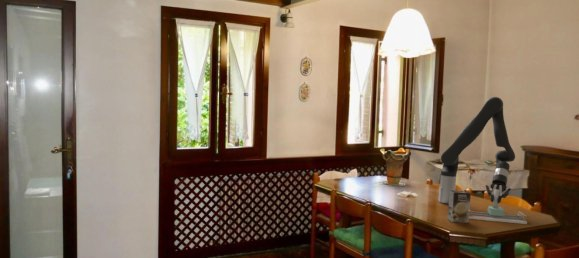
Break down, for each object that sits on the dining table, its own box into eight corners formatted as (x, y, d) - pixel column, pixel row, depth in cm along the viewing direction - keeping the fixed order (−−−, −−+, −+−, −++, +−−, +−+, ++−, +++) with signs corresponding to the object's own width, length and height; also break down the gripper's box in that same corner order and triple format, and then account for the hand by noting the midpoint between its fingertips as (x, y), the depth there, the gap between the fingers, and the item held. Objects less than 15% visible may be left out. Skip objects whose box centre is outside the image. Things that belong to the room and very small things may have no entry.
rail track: (468, 218, 245) (469, 211, 245) (463, 213, 257) (464, 206, 256) (526, 224, 240) (527, 216, 240) (519, 218, 252) (519, 211, 252)
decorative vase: (371, 181, 344) (375, 145, 342) (394, 181, 355) (398, 146, 353) (389, 186, 325) (394, 148, 324) (413, 186, 336) (417, 149, 335)
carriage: (490, 215, 245) (492, 191, 244) (487, 212, 252) (489, 188, 251) (504, 216, 244) (506, 192, 243) (500, 213, 251) (502, 189, 250)
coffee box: (451, 222, 236) (454, 192, 235) (447, 218, 242) (449, 189, 241) (468, 222, 236) (471, 193, 235) (463, 219, 243) (465, 190, 242)
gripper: (487, 172, 258) (481, 196, 249) (513, 175, 250) (508, 200, 241) (487, 179, 263) (482, 203, 254) (514, 183, 255) (509, 208, 246)
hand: (495, 202), depth 247 cm, fingers closed on carriage, 2 cm apart
